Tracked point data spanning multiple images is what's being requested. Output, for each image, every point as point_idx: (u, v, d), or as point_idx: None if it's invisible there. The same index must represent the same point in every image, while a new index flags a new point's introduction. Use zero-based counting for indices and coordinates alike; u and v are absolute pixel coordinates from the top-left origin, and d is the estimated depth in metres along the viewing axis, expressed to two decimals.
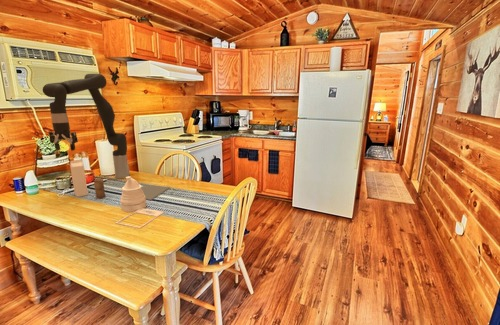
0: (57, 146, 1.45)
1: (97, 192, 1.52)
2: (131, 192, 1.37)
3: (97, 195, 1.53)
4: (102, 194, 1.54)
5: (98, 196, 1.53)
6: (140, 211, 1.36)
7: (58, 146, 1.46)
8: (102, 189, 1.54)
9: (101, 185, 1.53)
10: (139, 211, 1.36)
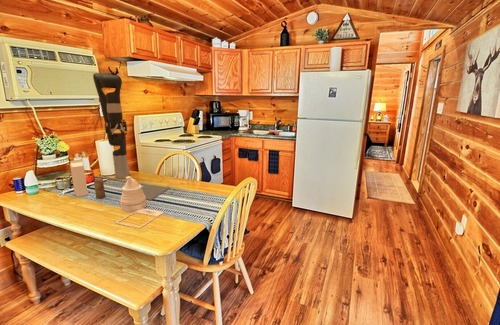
0: None
1: (97, 192, 1.52)
2: (131, 192, 1.37)
3: (97, 195, 1.53)
4: (102, 194, 1.54)
5: (98, 196, 1.53)
6: (140, 211, 1.36)
7: None
8: (102, 189, 1.54)
9: (101, 185, 1.53)
10: (139, 211, 1.36)
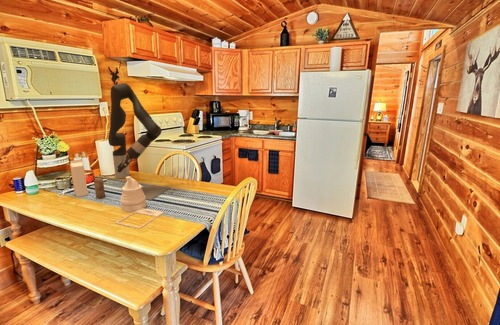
0: None
1: (97, 192, 1.52)
2: (131, 192, 1.37)
3: (97, 195, 1.53)
4: (102, 194, 1.54)
5: (98, 196, 1.53)
6: (140, 211, 1.36)
7: None
8: (102, 189, 1.54)
9: (101, 185, 1.53)
10: (139, 211, 1.36)
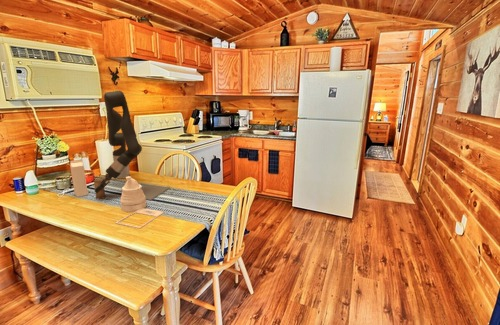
0: None
1: None
2: (131, 192, 1.37)
3: (97, 195, 1.53)
4: (102, 194, 1.54)
5: (98, 196, 1.53)
6: (140, 211, 1.36)
7: None
8: (102, 189, 1.54)
9: None
10: (139, 211, 1.36)
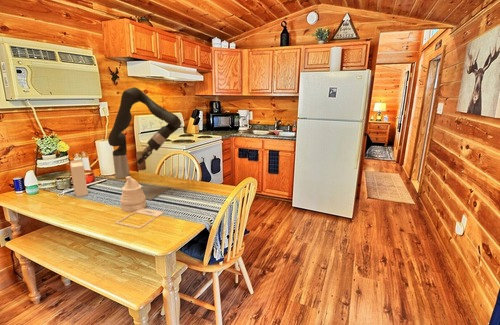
0: None
1: (139, 164, 1.56)
2: (131, 192, 1.37)
3: (139, 166, 1.56)
4: (144, 166, 1.57)
5: (139, 167, 1.56)
6: (140, 211, 1.36)
7: None
8: (144, 161, 1.57)
9: None
10: (139, 211, 1.36)
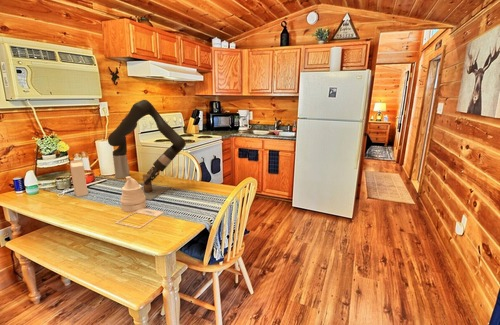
0: None
1: (146, 186, 1.61)
2: (131, 192, 1.37)
3: (146, 189, 1.61)
4: (150, 188, 1.62)
5: (146, 190, 1.61)
6: (140, 211, 1.36)
7: None
8: (150, 184, 1.62)
9: None
10: (139, 211, 1.36)
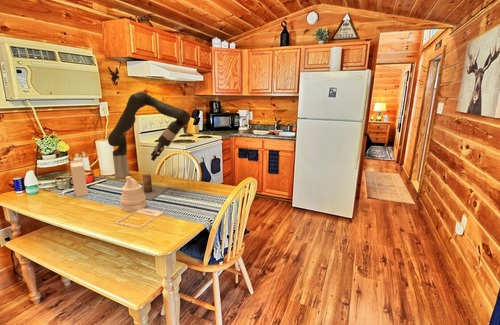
0: None
1: (145, 187, 1.61)
2: (131, 192, 1.37)
3: (145, 189, 1.61)
4: (150, 188, 1.62)
5: (146, 190, 1.61)
6: (140, 211, 1.36)
7: None
8: (150, 184, 1.62)
9: (149, 180, 1.61)
10: (139, 211, 1.36)
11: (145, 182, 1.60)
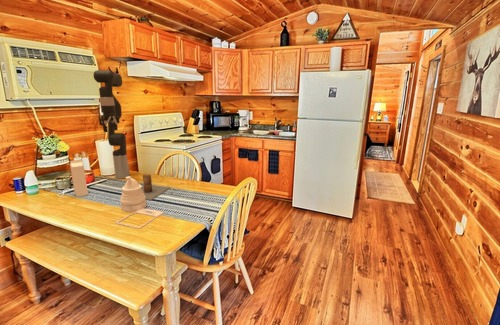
0: None
1: (145, 187, 1.61)
2: (131, 192, 1.37)
3: (145, 189, 1.61)
4: (150, 188, 1.62)
5: (146, 190, 1.61)
6: (140, 211, 1.36)
7: None
8: (150, 184, 1.62)
9: (149, 180, 1.61)
10: (139, 211, 1.36)
11: (145, 182, 1.60)
